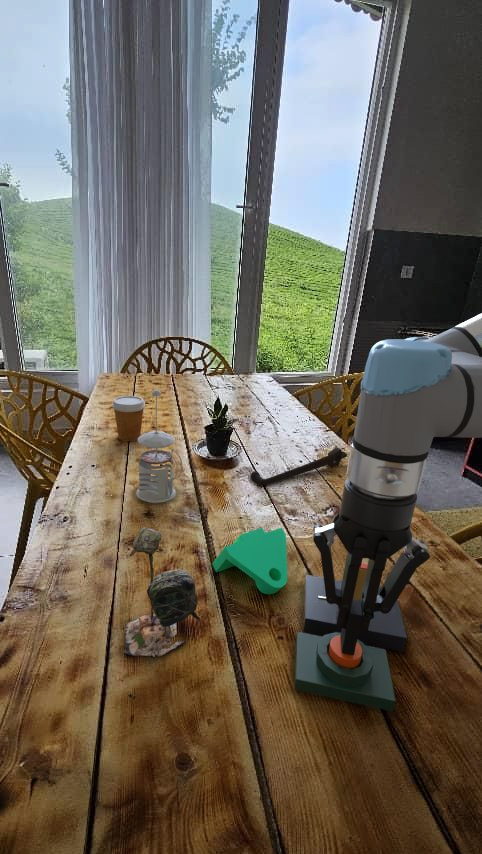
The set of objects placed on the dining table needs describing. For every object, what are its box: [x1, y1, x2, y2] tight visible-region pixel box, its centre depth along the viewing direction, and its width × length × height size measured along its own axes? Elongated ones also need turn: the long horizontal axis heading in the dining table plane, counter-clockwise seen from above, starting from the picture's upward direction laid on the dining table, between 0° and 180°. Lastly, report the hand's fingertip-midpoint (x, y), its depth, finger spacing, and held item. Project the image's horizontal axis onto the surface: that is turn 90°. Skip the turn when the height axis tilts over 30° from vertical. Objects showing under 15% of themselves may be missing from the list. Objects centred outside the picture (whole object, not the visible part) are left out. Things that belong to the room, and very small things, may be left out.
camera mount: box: [211, 527, 288, 595], centre depth 76 cm, size 12×8×10 cm
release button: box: [329, 635, 362, 669], centre depth 58 cm, size 4×4×2 cm
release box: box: [293, 631, 397, 712], centre depth 59 cm, size 12×8×4 cm, turn 77°
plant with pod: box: [123, 526, 202, 658], centre depth 60 cm, size 8×11×20 cm
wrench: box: [250, 446, 348, 486], centre depth 116 cm, size 5×5×30 cm
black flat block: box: [302, 574, 408, 653], centre depth 68 cm, size 14×10×3 cm
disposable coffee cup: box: [111, 395, 146, 442], centre depth 131 cm, size 10×10×12 cm
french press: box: [135, 389, 183, 504], centre depth 97 cm, size 10×12×25 cm
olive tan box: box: [353, 558, 369, 601], centre depth 66 cm, size 6×2×9 cm, turn 167°
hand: (346, 645), depth 57 cm, fingers closed
